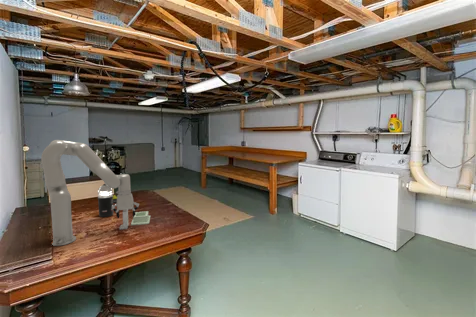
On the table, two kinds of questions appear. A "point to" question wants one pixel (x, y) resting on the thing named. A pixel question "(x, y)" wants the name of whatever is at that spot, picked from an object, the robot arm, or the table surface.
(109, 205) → the black silver cylindrical canister
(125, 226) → the bracket
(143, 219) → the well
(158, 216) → the table surface
